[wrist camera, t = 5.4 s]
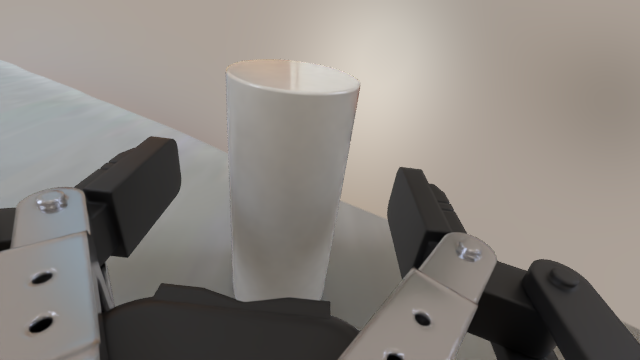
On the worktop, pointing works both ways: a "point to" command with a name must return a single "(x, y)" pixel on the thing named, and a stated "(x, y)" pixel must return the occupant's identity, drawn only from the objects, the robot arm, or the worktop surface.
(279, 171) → the white cylinder
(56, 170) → the worktop surface
